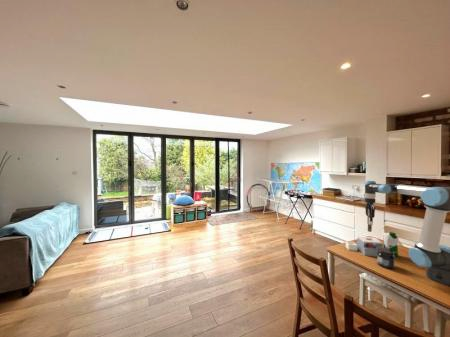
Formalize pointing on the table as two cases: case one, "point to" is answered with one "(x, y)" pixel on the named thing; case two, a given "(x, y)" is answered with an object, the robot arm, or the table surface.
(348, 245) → the holder
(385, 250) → the supplement container
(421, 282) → the table surface
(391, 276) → the table surface
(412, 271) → the table surface
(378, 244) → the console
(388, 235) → the milk carton
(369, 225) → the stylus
